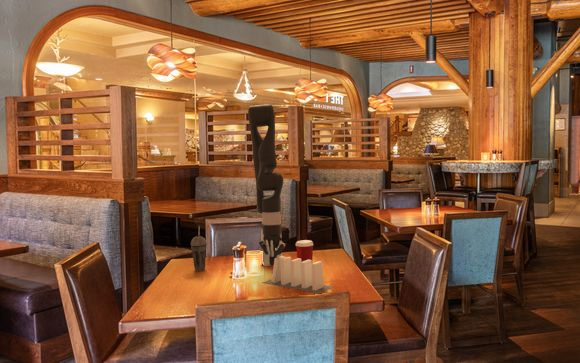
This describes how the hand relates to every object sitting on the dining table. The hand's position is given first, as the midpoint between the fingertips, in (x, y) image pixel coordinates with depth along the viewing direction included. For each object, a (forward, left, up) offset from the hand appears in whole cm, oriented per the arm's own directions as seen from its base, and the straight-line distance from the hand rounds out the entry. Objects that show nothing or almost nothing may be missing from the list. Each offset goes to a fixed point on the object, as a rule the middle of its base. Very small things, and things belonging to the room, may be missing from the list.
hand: (273, 265), depth 206 cm
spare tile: (+11, 0, -7) cm, 13 cm away
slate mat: (+11, 0, -7) cm, 13 cm away
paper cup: (+3, +17, -7) cm, 19 cm away
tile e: (+21, 0, -7) cm, 22 cm away
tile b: (+6, 0, -7) cm, 9 cm away
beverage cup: (-43, -1, -7) cm, 43 cm away
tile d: (+16, 0, -7) cm, 18 cm away
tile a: (+1, 0, -6) cm, 6 cm away
